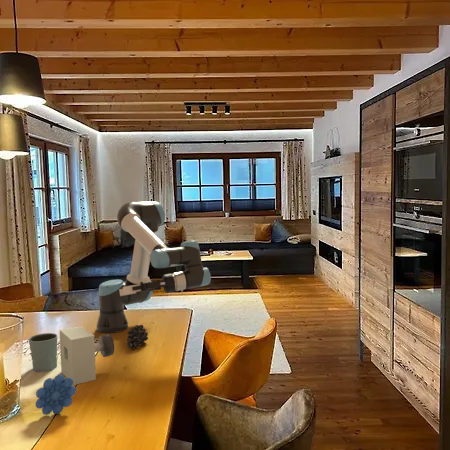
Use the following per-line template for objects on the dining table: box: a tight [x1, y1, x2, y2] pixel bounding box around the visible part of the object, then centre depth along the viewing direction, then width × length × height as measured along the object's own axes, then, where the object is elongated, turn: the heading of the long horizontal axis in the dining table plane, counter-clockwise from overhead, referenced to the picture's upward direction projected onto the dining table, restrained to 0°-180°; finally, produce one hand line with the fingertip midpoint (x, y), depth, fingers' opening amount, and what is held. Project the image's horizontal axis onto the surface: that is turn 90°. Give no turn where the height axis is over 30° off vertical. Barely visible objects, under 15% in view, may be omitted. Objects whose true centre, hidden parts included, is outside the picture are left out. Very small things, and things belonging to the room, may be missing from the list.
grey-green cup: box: [28, 332, 58, 372], centre depth 176 cm, size 10×10×12 cm
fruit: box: [126, 324, 149, 351], centre depth 200 cm, size 9×8×15 cm
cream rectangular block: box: [59, 325, 97, 386], centre depth 168 cm, size 15×8×16 cm, turn 35°
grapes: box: [35, 373, 77, 416], centre depth 139 cm, size 12×7×12 cm, turn 107°
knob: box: [94, 333, 115, 358], centre depth 171 cm, size 8×11×8 cm
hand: (121, 291), depth 183 cm, fingers open, 13 cm apart
